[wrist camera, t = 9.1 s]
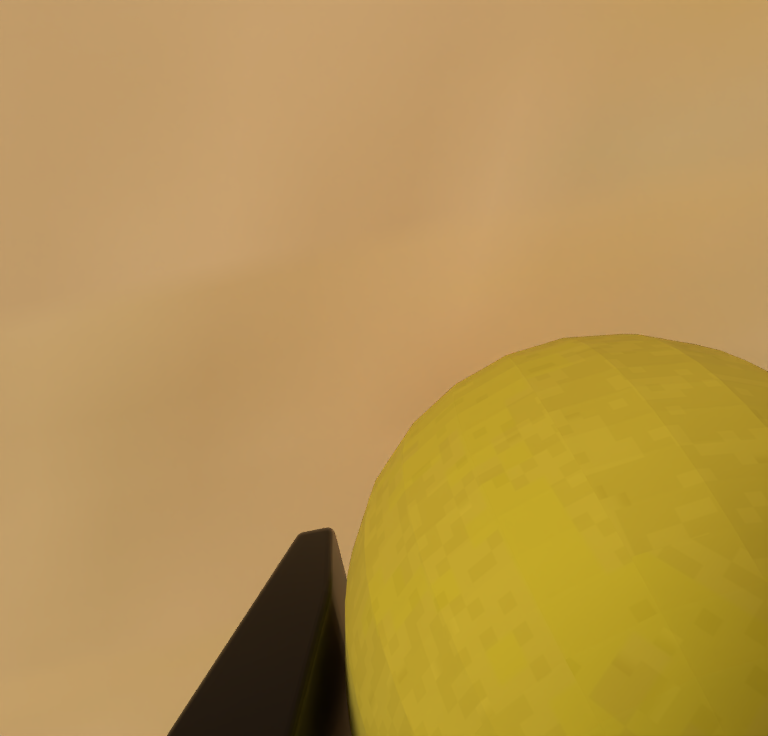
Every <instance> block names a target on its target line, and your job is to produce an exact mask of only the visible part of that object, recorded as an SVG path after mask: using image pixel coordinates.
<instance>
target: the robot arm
mask: <svg viewBox="0 0 768 736" xmlns="http://www.w3.org/2000/svg"><path fill="white" fill-rule="evenodd" d="M346 586H347V578H346V574H345V570H344V566H343V562H342V558H341V554H340V550H339V546H338V543H337V539H336V535H335V532H334V531H333V530H332V529H331V528H322V529H317V530H312V531H307V532H303V533H300V534H299V535H298V536H297V537H296V539H295V540H294V542H293V543H292V545H291V546H290V548H289V549H288V551H287V552H286V554H285V556H284V557H283V559H282V560H281V562H280V563H279V565H278V566H277V568H276V569H275V571H274V572H273V574H272V575H271V577H270V579H269V580H268V582H267V583H266V585H265V586H264V588H263V589H262V591H261V592H260V594H259V595H258V597H257V598H256V600H255V601H254V603H253V605H252V606H251V608H250V609H249V611H248V612H247V614H246V615H245V617H244V618H243V620H242V621H241V623H240V624H239V626H238V627H237V629H236V631H235V632H234V634H233V635H232V637H231V638H230V640H229V641H228V643H227V644H226V646H225V647H224V649H223V650H222V652H221V653H220V655H219V657H218V658H217V660H216V661H215V663H214V664H213V666H212V667H211V669H210V670H209V672H208V673H207V675H206V676H205V678H204V680H203V681H202V683H201V684H200V686H199V687H198V689H197V690H196V692H195V693H194V695H193V696H192V698H191V699H190V701H189V702H188V704H187V706H186V707H185V709H184V710H183V712H182V713H181V715H180V716H179V718H178V719H177V721H176V722H175V724H174V725H173V727H172V728H171V730H170V732H169V733H168V735H167V736H352V734H351V729H350V724H349V715H348V707H347V698H346V686H345V598H346Z"/></svg>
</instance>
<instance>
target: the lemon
mask: <svg viewBox="0 0 768 736" xmlns="http://www.w3.org/2000/svg"><path fill="white" fill-rule="evenodd" d="M345 686H346V698H347V707H348V715H349V724H350V729H351V734H352V736H768V371H766V370H764V369H762V368H760V367H758V366H756V365H754V364H752V363H750V362H747V361H745V360H743V359H741V358H738V357H735V356H733V355H730V354H728V353H725V352H723V351H720V350H716V349H712V348H708V347H704V346H700V345H695V344H689V343H684V342H678V341H672V340H667V339H661V338H655V337H649V336H644V335H638V334H615V335H600V336H586V337H571V338H562V339H558V340H555V341H552V342H549V343H545V344H542V345H539V346H535V347H532V348H529V349H526V350H522V351H519V352H516V353H512V354H509V355H506V356H504V357H502V358H501V359H499V360H497V361H496V362H494V363H492V364H490V365H489V366H487V367H485V368H483V369H482V370H480V371H478V372H476V373H475V374H473V375H471V376H469V377H468V378H466V379H464V380H463V381H461V382H459V383H457V384H456V385H454V386H453V387H452V388H451V389H450V390H449V391H448V392H447V393H446V394H444V395H443V396H442V397H441V398H440V399H439V400H438V401H437V402H436V403H435V404H434V405H433V406H431V407H430V408H429V409H428V410H427V411H426V412H425V413H424V414H423V415H422V416H421V417H420V418H418V419H417V420H416V421H415V422H414V423H413V424H412V426H411V428H410V429H409V431H408V432H407V434H406V435H405V437H404V438H403V440H402V441H401V443H400V444H399V446H398V447H397V449H396V450H395V452H394V453H393V455H392V456H391V458H390V459H389V461H388V462H387V464H386V465H385V467H384V468H383V470H382V471H381V473H380V475H379V476H378V478H377V479H376V481H375V484H374V486H373V489H372V492H371V495H370V498H369V501H368V504H367V507H366V510H365V513H364V516H363V519H362V523H361V526H360V529H359V532H358V535H357V538H356V541H355V545H354V548H353V551H352V555H351V560H350V565H349V570H348V575H347V586H346V598H345Z"/></svg>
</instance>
